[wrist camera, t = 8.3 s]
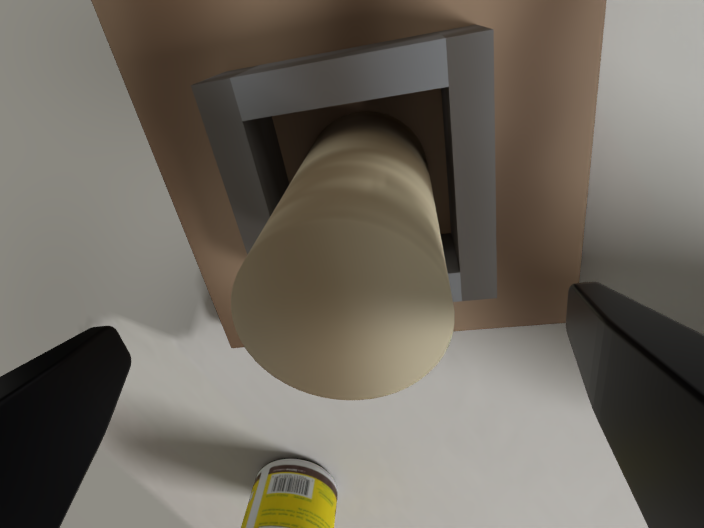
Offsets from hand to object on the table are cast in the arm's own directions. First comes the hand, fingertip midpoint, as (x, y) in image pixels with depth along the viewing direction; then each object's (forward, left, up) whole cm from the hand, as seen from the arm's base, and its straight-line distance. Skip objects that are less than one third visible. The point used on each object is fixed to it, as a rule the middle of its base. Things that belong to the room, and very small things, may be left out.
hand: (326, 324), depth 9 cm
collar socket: (0, 0, -11) cm, 11 cm away
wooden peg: (0, 0, -9) cm, 9 cm away
